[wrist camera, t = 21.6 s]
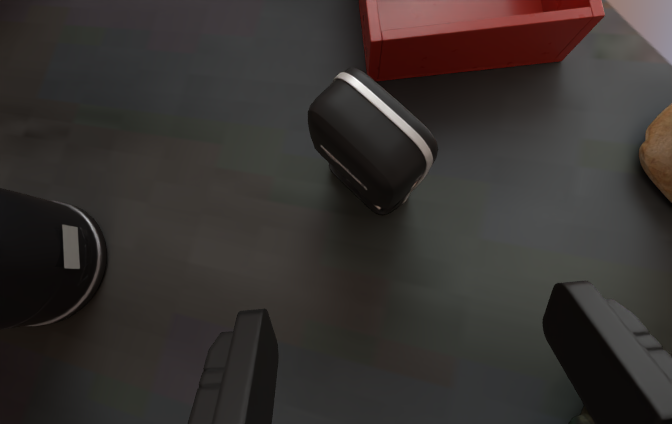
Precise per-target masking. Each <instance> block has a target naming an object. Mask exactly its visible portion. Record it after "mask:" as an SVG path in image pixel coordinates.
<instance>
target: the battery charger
mask: <svg viewBox="0 0 672 424" xmlns="http://www.w3.org/2000/svg"><path fill="white" fill-rule="evenodd" d="M308 125H309V131H310V135H311V139H312V141H313V144H314V147H315V149H316V150H317V151H318V152H319V153H320V154H321V156H323V157H324V158H325V159H326V160H327V161H328V162H329V167H330V170H331V171H332V172H333V174H334V175H335V176H336V177H337V178H338V179H339V180H340V181H341V182H342V183H343V184H345V185H346V186H347V187H348V188H349V189H350V190H351V191H352V192H353V193H354V194H355V195H356V196H357V197H358V198H359V199H360V200H361V201H362V202H363V203H364V204H365V205H366V206H368V207H369V208H370V209H371V210H372V211H373V212H375V213H376V214H378V215H386V214H388V213H391V212H392V211H394V210H395V209H397V208H398V207H399V206H400V205H401V204H403V203H404V202H405V201H406V200H407V198H408V197H409V195H410V193H411V192H412V191H413V190H414V189H415V188H416V187H417V186H418V185H419V184H420V183H421V181H422V180H423V179H424V178H425V176H426V175H427V173H428V171H429V170H430V168H431V166H432V164H433V163H434V161H435V159H436V157H437V153H438V146H437V142H436V140H435V138H434V136H433V135H432V133H431V132H430V131H429V129H428V128H427V127H426V126H425V125H424V124H423V123H422V122H421V121H420V120H419V119H417V118H416V117H415V116H414V115H413V114H412V113H411V112H410V111H409V110H407V109H406V108H405V107H404V106H403V105H402V104H401V103H400V102H399V101H398V100H396V99H395V98H394V97H393V96H392V95H391V94H389V93H388V92H387V91H386V90H385V89H384V88H382V87H381V86H380V85H379V84H378V83H377V82H376V81H374V80H373V79H372V78H371V77H370V76H368V75H367V74H366V73H364V72H363V71H361V70H359V69H357V68H349V69H347V70H346V71H345V72H341V73H339V74H338V75H337V76H336V77H335V78H334V79H333V83H332V84H331V85H330V86H329V87H328V88H327V89H326V90H324V91H323V92H322V93H321V94H320V95H319V96H318V97H317V98H316V99H315V100H314V102H313V103H312V104H311V105H310V108H309V110H308Z"/></svg>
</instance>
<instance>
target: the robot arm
mask: <svg viewBox="0 0 672 424" xmlns="http://www.w3.org/2000/svg"><path fill="white" fill-rule="evenodd" d="M106 258H107V252H106V244H105V239H104V236H103V233H102V231H101V229H100V227H99V226H98V224H97V223H96V221H95V220H94V219H93V218H92V217H91V216H90V215H89V214H88V213H87V212H85V211H84V210H82V209H80V208H78V207H76V206H73V205H70V204H66V203H62V202H58V201H49V200H45V199H41V198H37V197H33V196H30V195H26V194H22V193H18V192H14V191H10V190H6V189H2V188H0V330H3V329H9V328H16V327H23V326H39V325H46V324H52V323H56V322H59V321H62V320H64V319H66V318H68V317H70V316H72V315H73V314H75V313H76V312H78V311H79V310H80V309H81V308H82V307H84V306H85V305H86V304H87V303H88V301H89V300H90V299H91V298H92V297H93V295H94V294H95V292H96V290H97V289H98V287H99V285H100V283H101V281H102V278H103V275H104V271H105V267H106ZM543 331H544V334H545V337H546V340H547V341H548V343H549V345H550V347H551V348H552V350H553V352H554V354H555V355H556V357H557V359H558V361H559V362H560V364H561V366H562V367H563V369H564V371H565V373H566V374H567V376H568V378H569V379H570V381H571V383H572V385H573V386H574V388H575V390H576V392H577V393H578V395H579V397H580V398H581V400H582V402H583V404H584V405H585V407H586V409H587V411H588V412H589V414H590V416H591V417H592V419H593V421H594V423H595V424H672V357H671V356H670V355H669V354H668V352H667V351H664V350H663V348H662V345H661V344H660V343H659V342H658V341H657V340H656V339H655V337H654V336H653V335H650V333H649V330H648V329H647V328H646V327H645V326H644V325H643V324H642V322H641V321H640V320H639V319H638V318H637V317H636V315H635V314H634V313H632V312H631V311H629V310H628V309H627V308H625V307H624V306H622V305H621V304H619V303H618V302H616V301H615V300H614V299H605V298H604V297H603V296H602V295H601V293H600V292H599V291H598V290H597V289H596V287H595V286H594V285H593V284H592V283H590V282H588V281H577V282H566V283H557V284H555V286H554V287H553V290H552V293H551V296H550V299H549V302H548V305H547V308H546V311H545V314H544V317H543ZM203 369H204V372H203V373H202V375H201V379H200V382H199V389H197V393H196V396H195V400H194V403H193V407H192V410H191V414H190V417H189V421H188V424H272V415H273V406H274V397H275V387H276V378H277V369H278V344H277V340H276V337H275V333H274V330H273V327H272V324H271V320H270V317H269V314H268V311H267V309H258V310H247V311H240V312H239V313H238V315H237V318H236V322H235V326H234V331H233V332H222V333H220V335H219V336H218V338H217V339H216V340H215V342H214V343H213V345H212V346H211V347H210V349H209V351H208V355H207V358H206V361H205V365H204V368H203Z"/></svg>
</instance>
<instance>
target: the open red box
mask: <svg viewBox="0 0 672 424" xmlns="http://www.w3.org/2000/svg"><path fill="white" fill-rule="evenodd" d="M359 9H360V18H361V27H362V35H363V44H364V53H365V62H366V70H367V75H368V76H370V77H371V78H372V79H373V80H374V81H385V80H394V79H403V78H413V77H422V76H431V75H440V74H449V73H458V72H468V71H477V70H486V69H495V68H504V67H513V66H523V65H532V64H541V63H550V62H559V61H562V60H563V59H564V58H565V57H566V56H567V55H568V54H569V53H570V52H571V51H572V50H573V49H574V48H575V47H576V45H577V44H578V43H579V42H580V41H581V40H582V39H583V38H584V37H585V36H586V35H587V34H588V33H589V32H590V31H591V30H592V29H593V28H594V27H595V26H596V25H597V23H598V22H599V21H600V20H601V19H602V18H603V17H604V16H605V13H604V9H603V5H602V1H601V0H359Z"/></svg>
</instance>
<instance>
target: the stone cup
mask: <svg viewBox="0 0 672 424" xmlns="http://www.w3.org/2000/svg"><path fill="white" fill-rule="evenodd" d="M645 135H646V140H645V142H644V143H643V144H642V145H641V147H640V148H639V159H640V163H641V165H642V167H643V169H644V171H645V172H646V174H647V175H648V176H649V178H650V179H651V180H652V182H653V183H654V184H655V185H656V186H657V187H658V189H659V190H660V191H661V192H662V193H663V194H664V196H665V197H666V198H667V199H668V200H669V201H670V202H671V203H672V104H671V105H669V106H668V107H667V108H666V109H665V110H663V111H662V112H661V113H660V114H659V115H658V116H657V117H656V118H655V120H654V121H653V122H652V123H651V124H650V125H649V126H648V128H647V130H646V134H645Z"/></svg>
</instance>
